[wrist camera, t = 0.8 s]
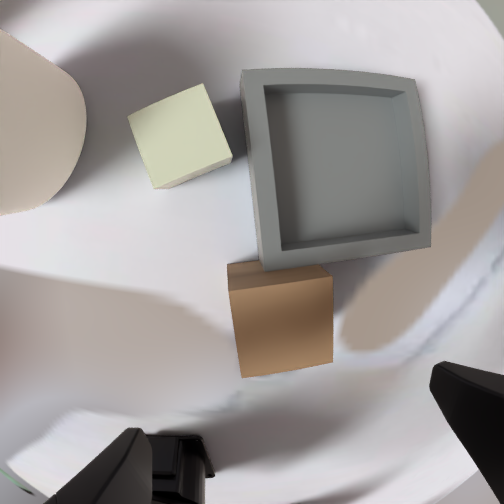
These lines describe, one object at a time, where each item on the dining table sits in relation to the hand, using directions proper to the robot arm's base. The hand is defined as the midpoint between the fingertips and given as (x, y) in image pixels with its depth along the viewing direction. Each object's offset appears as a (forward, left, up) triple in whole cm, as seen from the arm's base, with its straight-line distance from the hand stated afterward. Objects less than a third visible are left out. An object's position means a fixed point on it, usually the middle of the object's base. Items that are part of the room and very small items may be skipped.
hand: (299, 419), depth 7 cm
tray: (+7, -6, -12) cm, 15 cm away
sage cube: (+9, +3, -12) cm, 15 cm away
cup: (+12, +14, -12) cm, 22 cm away
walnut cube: (-1, -1, -12) cm, 12 cm away
